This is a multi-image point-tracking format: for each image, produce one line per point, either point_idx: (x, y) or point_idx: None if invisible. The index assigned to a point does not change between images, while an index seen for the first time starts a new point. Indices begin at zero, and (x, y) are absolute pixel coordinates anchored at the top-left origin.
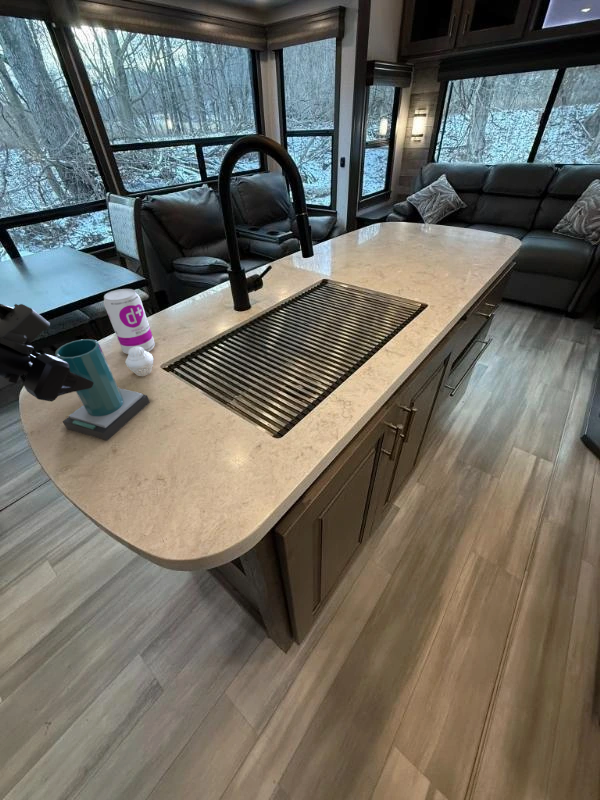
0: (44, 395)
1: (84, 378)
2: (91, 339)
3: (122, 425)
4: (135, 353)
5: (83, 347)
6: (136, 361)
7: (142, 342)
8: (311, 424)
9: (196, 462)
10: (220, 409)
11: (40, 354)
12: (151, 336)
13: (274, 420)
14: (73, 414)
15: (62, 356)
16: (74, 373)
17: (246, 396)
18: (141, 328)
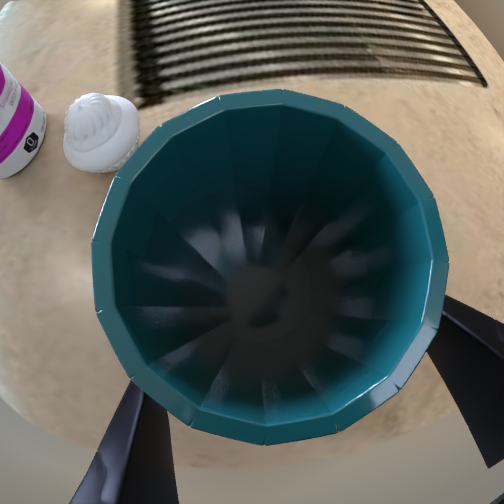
0: None
1: (465, 305)
2: (177, 116)
3: None
4: (99, 115)
5: (147, 217)
6: (116, 133)
7: (30, 113)
8: (473, 48)
9: (500, 195)
10: (396, 86)
11: (120, 492)
12: (27, 92)
13: (454, 62)
14: None
15: (359, 397)
16: (492, 339)
17: (378, 42)
18: (11, 85)
